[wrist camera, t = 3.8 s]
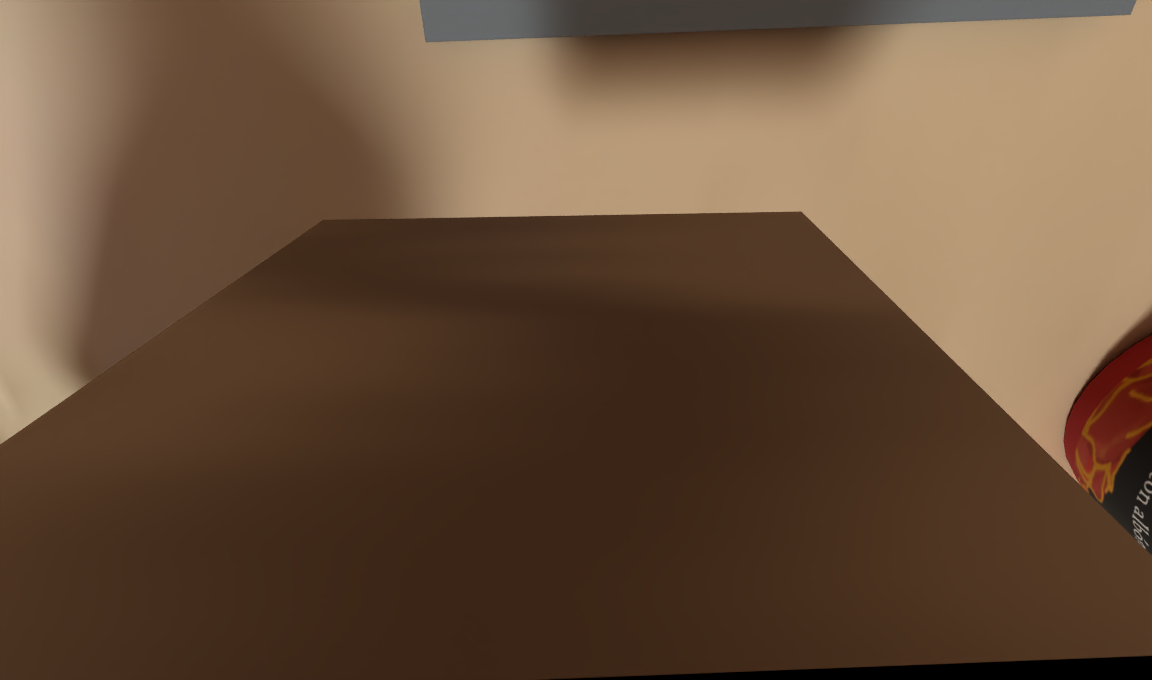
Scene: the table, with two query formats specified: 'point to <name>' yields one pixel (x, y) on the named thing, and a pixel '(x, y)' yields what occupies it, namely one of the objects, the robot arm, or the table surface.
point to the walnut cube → (554, 477)
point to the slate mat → (720, 15)
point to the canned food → (1117, 440)
